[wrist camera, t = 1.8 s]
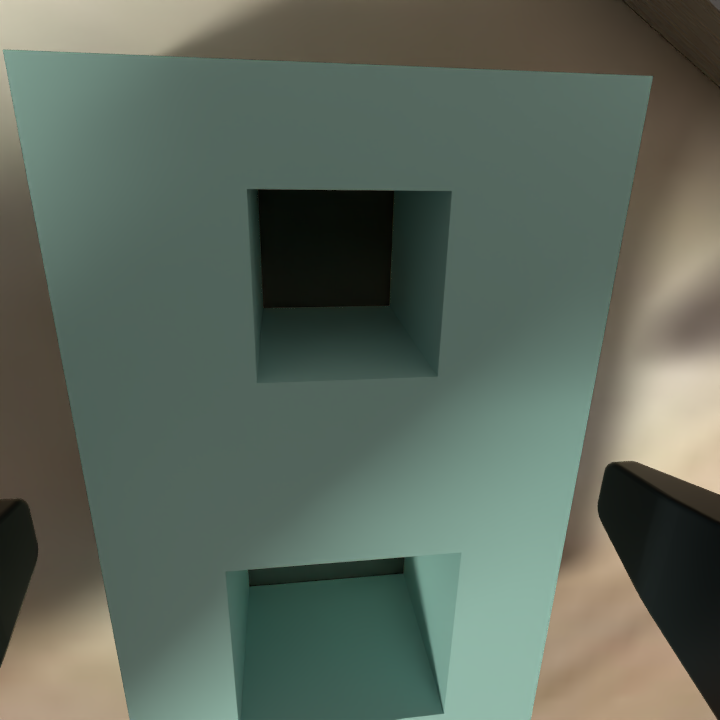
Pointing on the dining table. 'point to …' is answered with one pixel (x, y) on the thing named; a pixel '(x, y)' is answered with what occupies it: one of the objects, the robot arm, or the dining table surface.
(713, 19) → the post base
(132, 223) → the teal hollow block
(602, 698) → the dining table surface
